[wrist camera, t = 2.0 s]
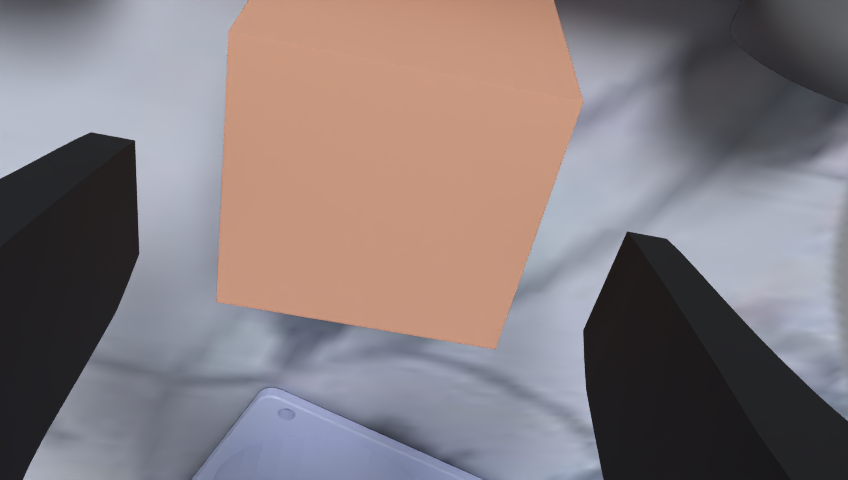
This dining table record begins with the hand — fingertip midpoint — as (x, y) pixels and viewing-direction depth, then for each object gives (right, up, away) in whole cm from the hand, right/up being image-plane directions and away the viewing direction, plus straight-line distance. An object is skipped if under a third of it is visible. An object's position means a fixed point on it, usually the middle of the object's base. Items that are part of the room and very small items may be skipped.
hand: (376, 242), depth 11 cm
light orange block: (0, +4, +6) cm, 7 cm away
